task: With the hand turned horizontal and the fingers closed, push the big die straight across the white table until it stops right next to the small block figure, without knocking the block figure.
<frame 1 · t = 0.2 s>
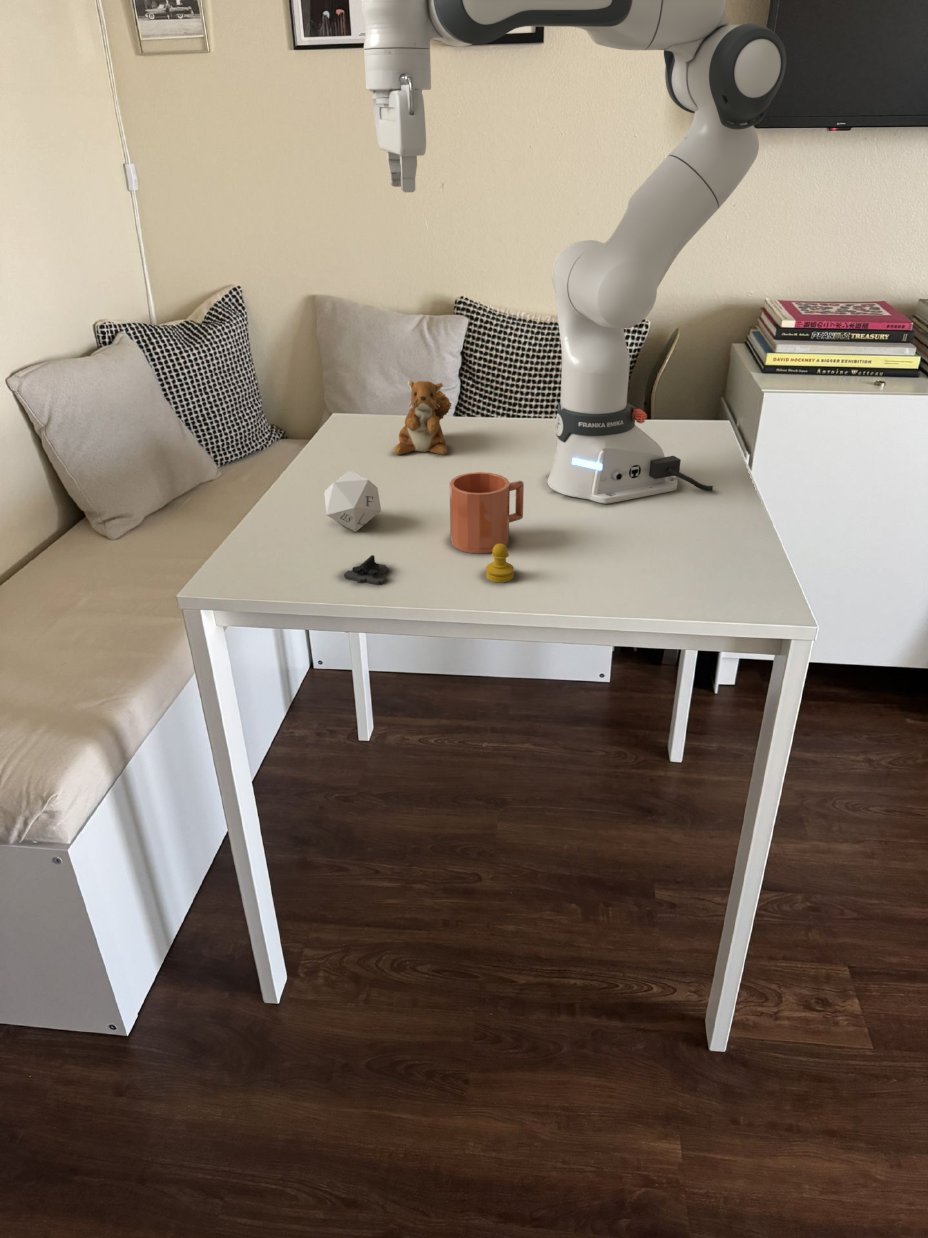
hand: (402, 188, 128), 48 cm above the table, tool pointing down, fingers open, 8 cm apart
die: (354, 525, 144), on the table
block figure: (369, 575, 128), on the table
mug: (479, 541, 138), on the table
stuffed squirrel: (425, 446, 176), on the table
chess piece: (499, 577, 128), on the table
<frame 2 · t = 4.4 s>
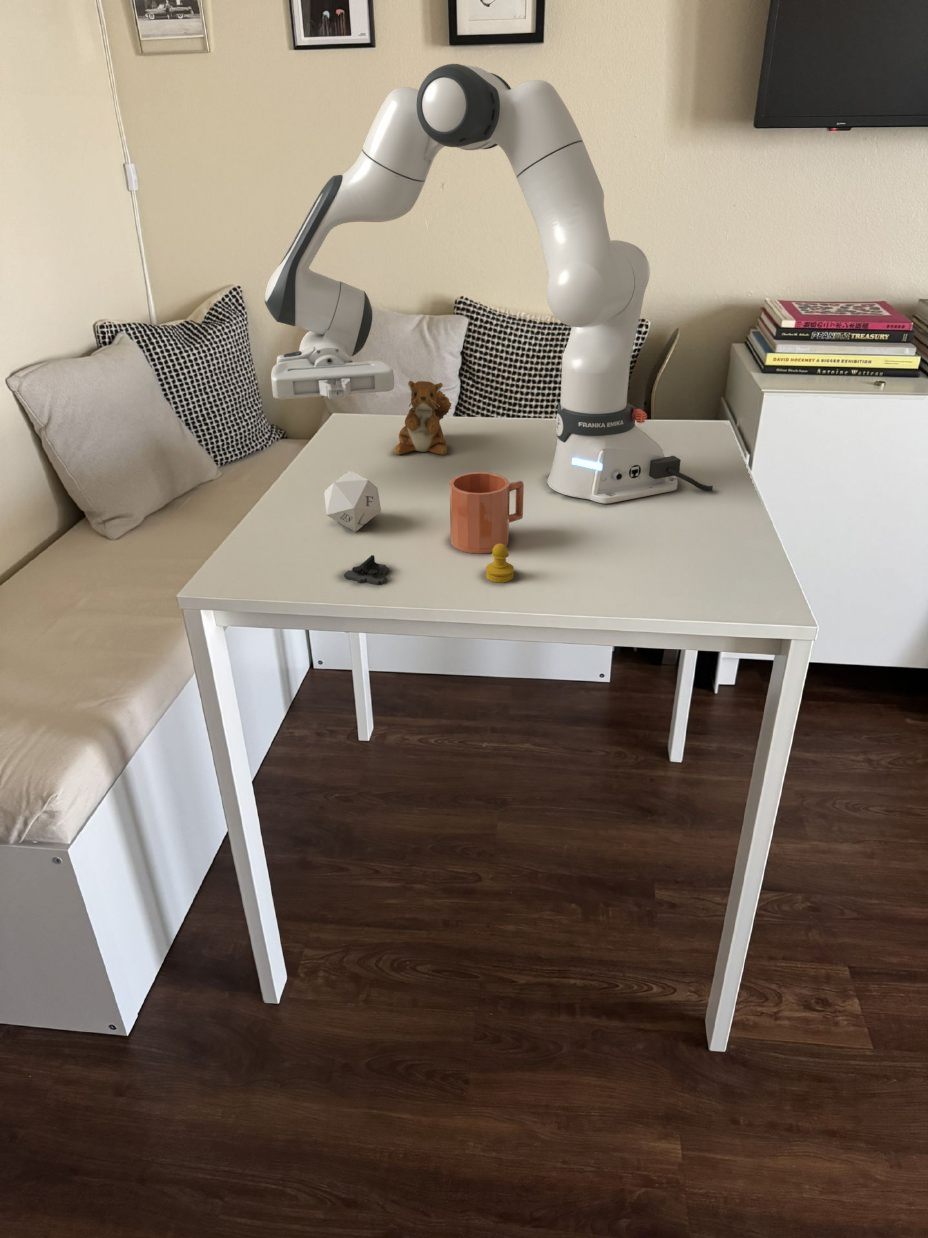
hand: (337, 393, 144), 18 cm above the table, tool horizontal, fingers closed
nothing on the table moved.
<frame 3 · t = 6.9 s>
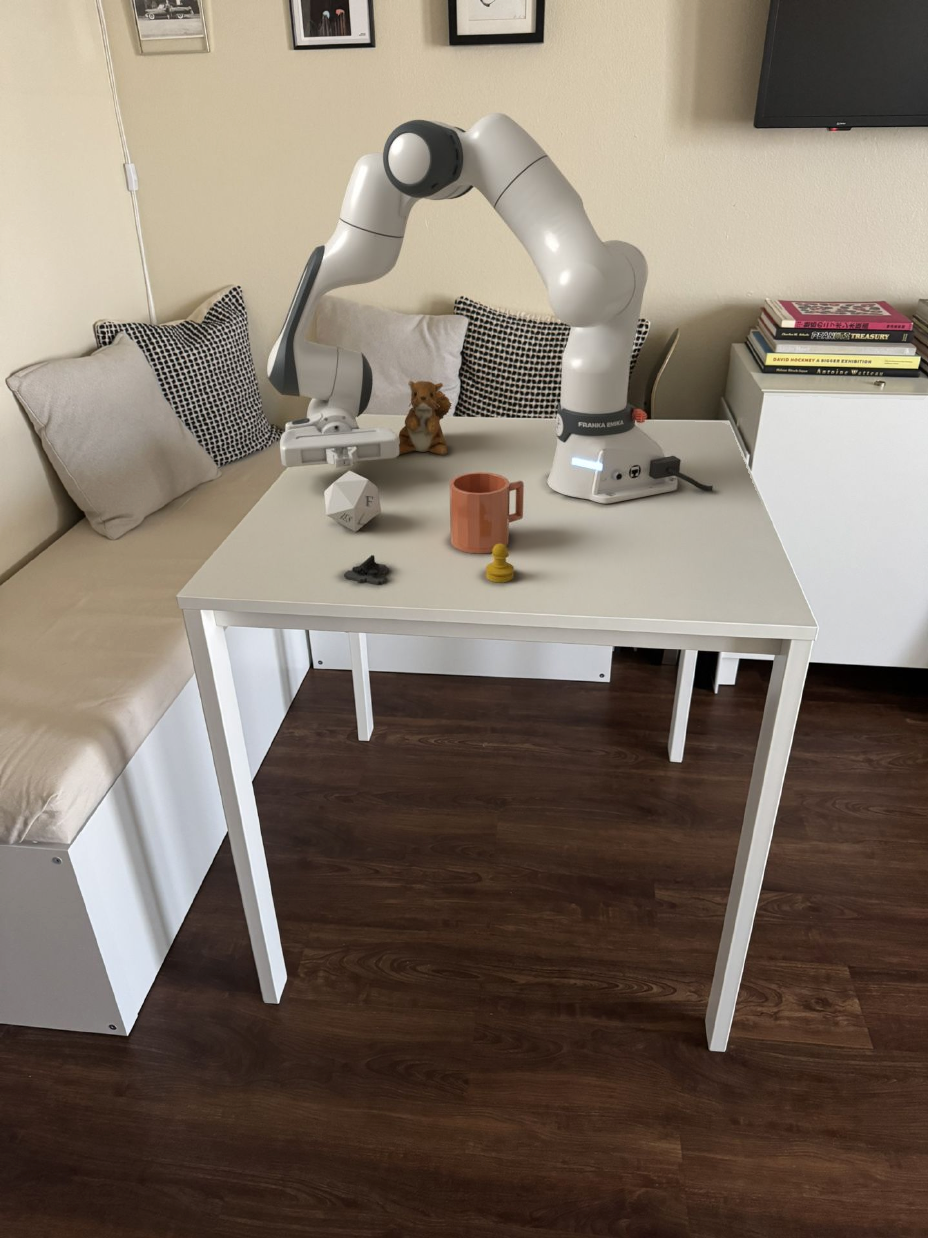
hand: (344, 462, 148), 7 cm above the table, tool horizontal, fingers closed
nothing on the table moved.
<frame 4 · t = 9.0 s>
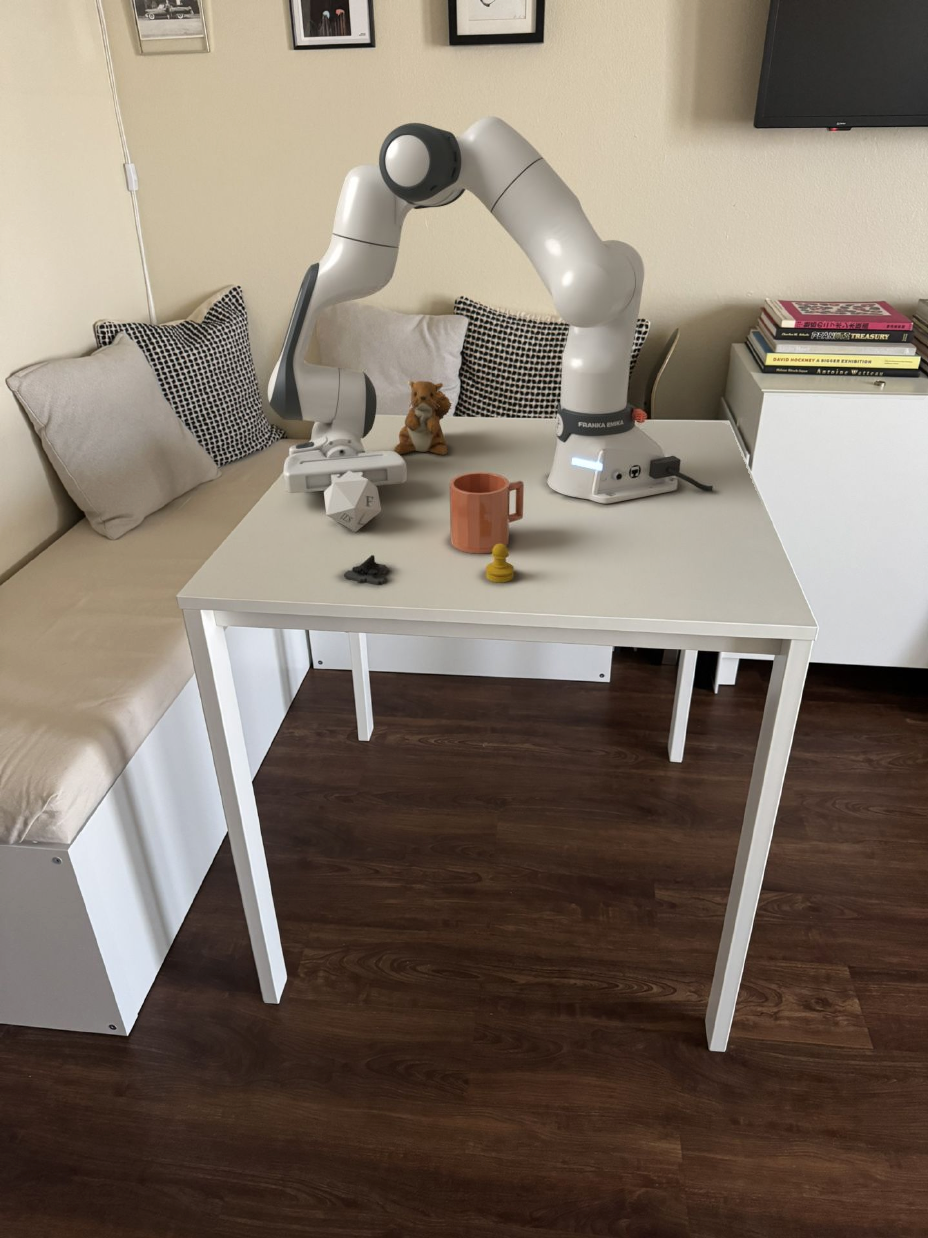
hand: (350, 489, 143), 5 cm above the table, tool horizontal, fingers closed, pressing on die
die: (354, 525, 144), on the table, touching gripper
everything else where it was.
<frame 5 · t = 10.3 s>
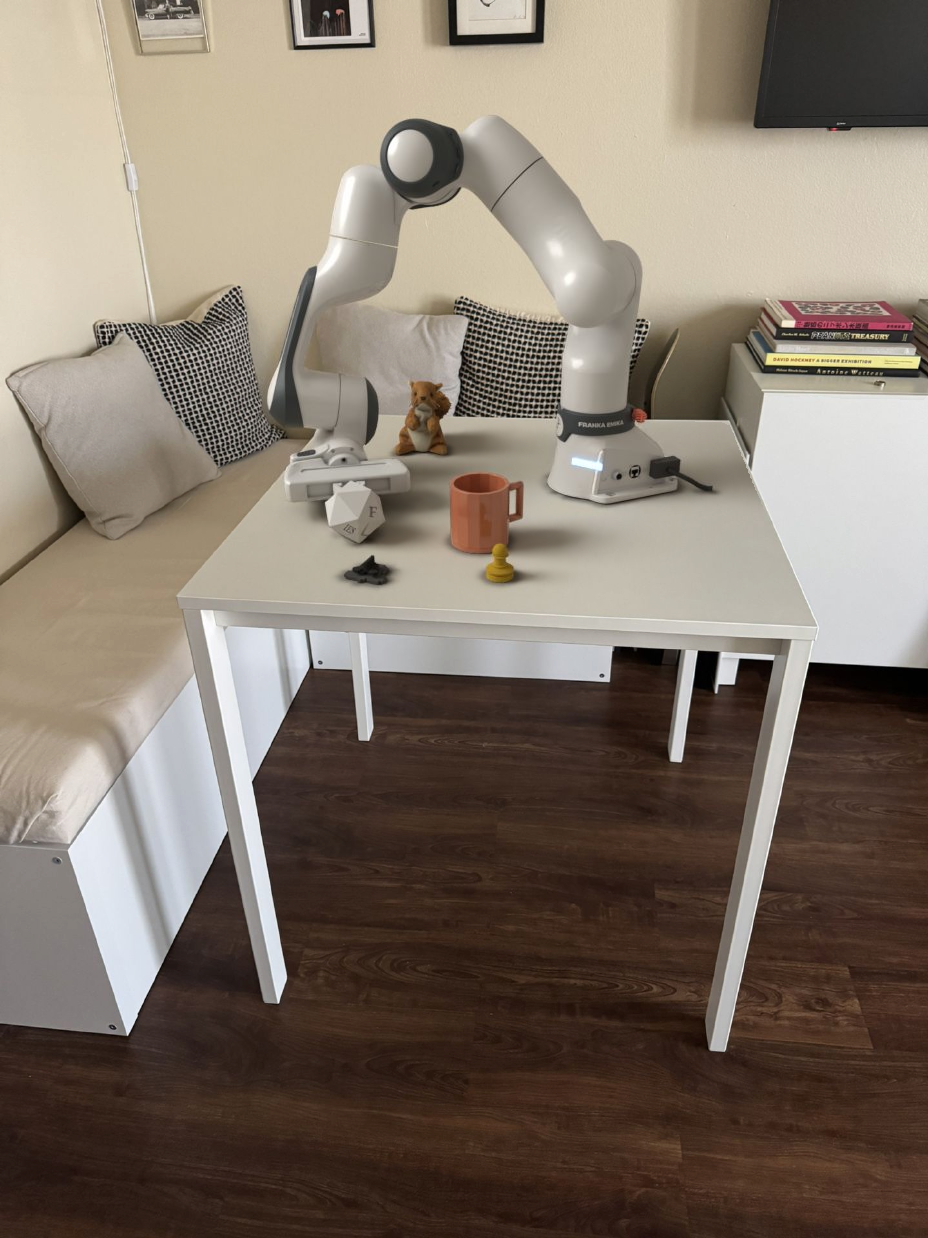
hand: (352, 498, 139), 5 cm above the table, tool horizontal, fingers closed, pressing on die
die: (356, 536, 140), on the table, touching gripper
everything else where it was.
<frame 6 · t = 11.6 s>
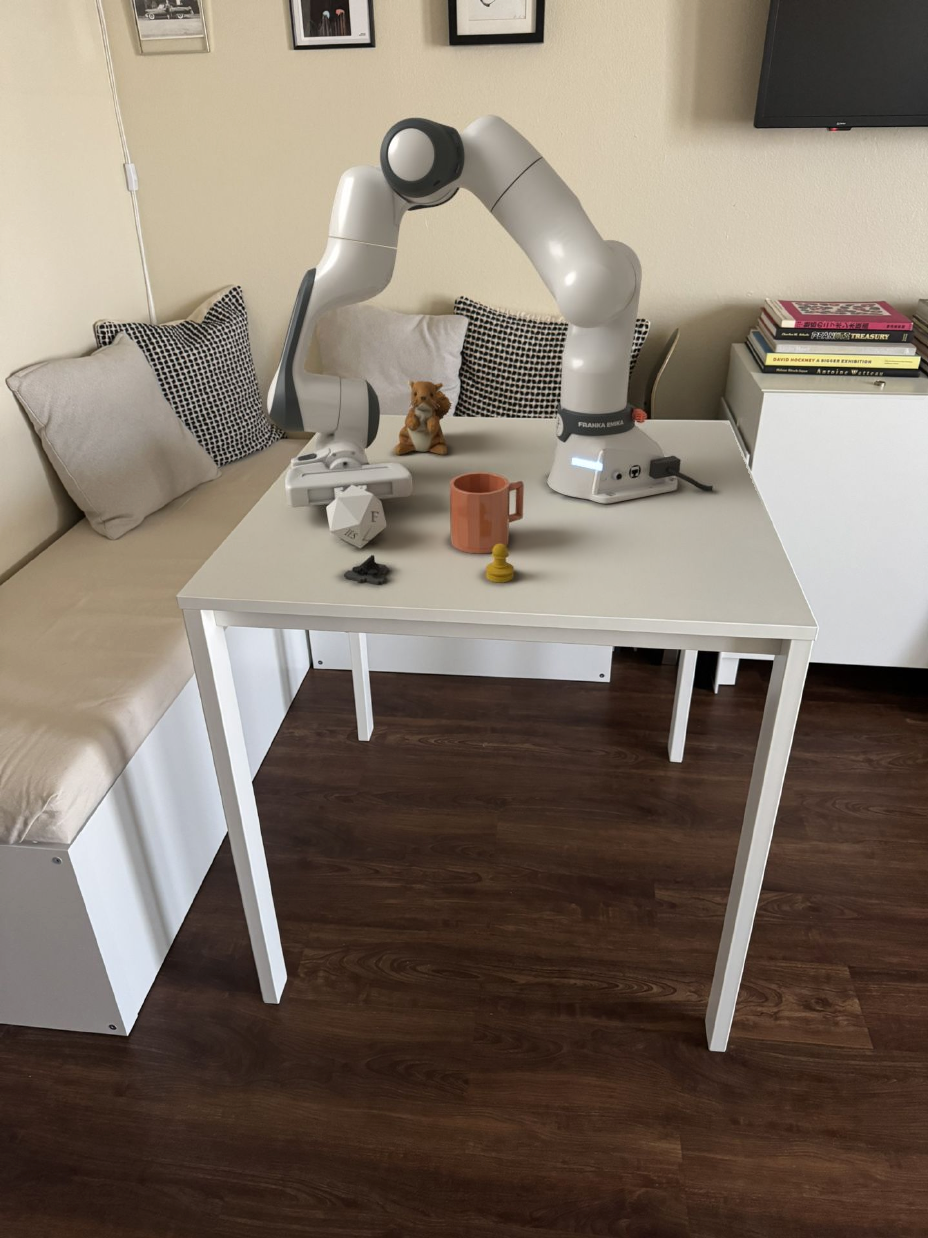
hand: (354, 503, 138), 5 cm above the table, tool horizontal, fingers closed
die: (358, 541, 138), on the table
everything else where it was.
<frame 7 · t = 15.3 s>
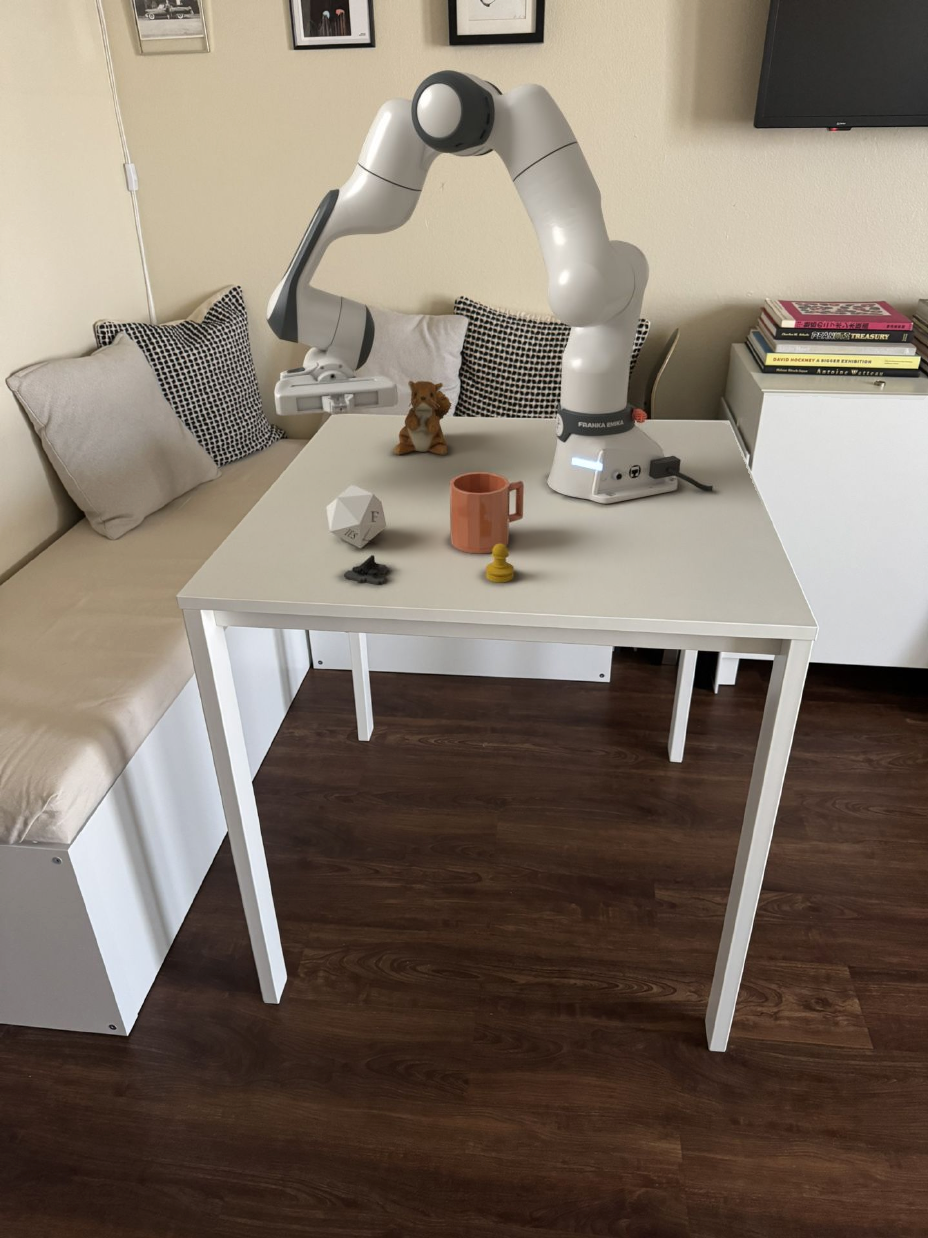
hand: (341, 409, 143), 16 cm above the table, tool horizontal, fingers closed
nothing on the table moved.
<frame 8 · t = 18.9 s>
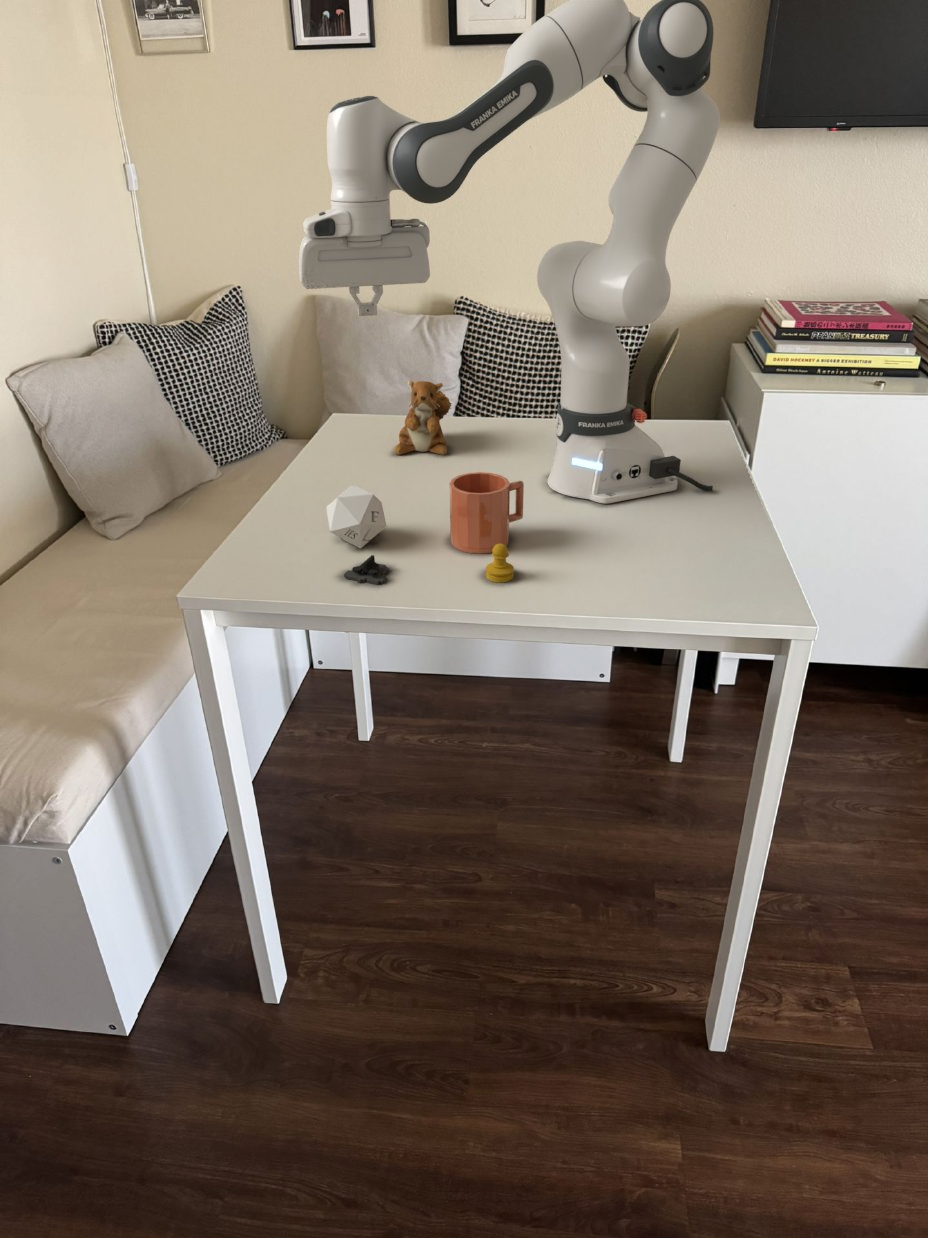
hand: (367, 315, 143), 29 cm above the table, tool pointing down, fingers closed
nothing on the table moved.
at the end: die 11.9 cm from the block figure (horizontally); block figure moved 0.2 cm from its start; die tilted 2° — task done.
